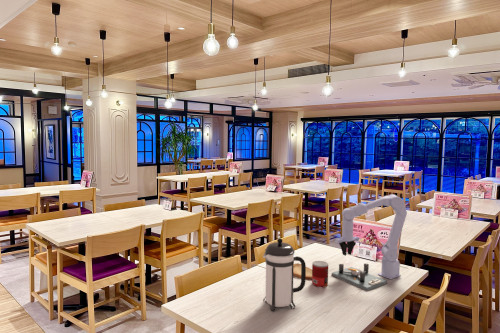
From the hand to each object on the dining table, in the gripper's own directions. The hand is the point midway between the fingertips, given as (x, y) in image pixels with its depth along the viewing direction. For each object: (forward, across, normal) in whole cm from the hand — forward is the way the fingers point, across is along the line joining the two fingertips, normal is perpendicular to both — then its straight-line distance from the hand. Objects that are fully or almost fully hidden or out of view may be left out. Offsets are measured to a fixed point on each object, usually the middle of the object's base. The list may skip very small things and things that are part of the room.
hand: (346, 254), depth 190 cm
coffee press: (+11, +51, +18) cm, 55 cm away
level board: (+10, 0, +10) cm, 14 cm away
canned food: (+11, +22, +7) cm, 26 cm away
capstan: (+9, +1, +6) cm, 11 cm away
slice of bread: (+11, +23, -9) cm, 27 cm away
